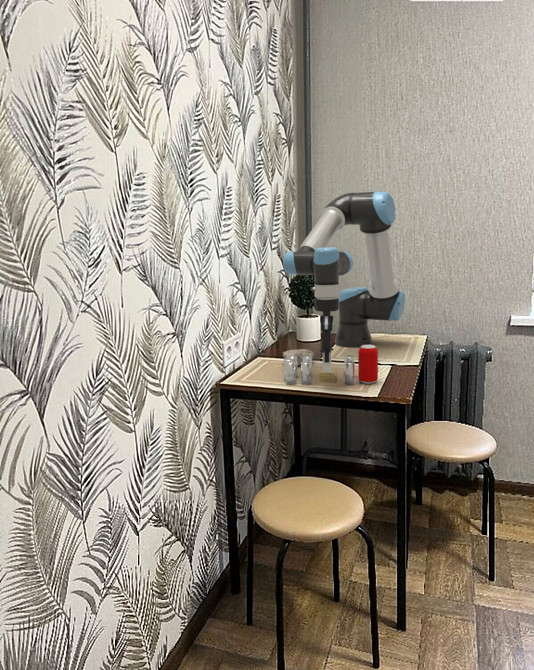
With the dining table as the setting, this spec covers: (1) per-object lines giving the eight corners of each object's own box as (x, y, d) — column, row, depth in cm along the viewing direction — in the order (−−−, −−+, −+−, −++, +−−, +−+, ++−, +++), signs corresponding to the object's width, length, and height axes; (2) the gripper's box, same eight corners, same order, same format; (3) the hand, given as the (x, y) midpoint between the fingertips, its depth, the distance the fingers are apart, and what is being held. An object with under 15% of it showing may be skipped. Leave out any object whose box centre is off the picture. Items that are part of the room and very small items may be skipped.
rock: (283, 368, 221) (282, 352, 220) (284, 360, 232) (284, 345, 231) (314, 368, 221) (313, 352, 219) (313, 360, 231) (313, 345, 230)
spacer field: (285, 375, 211) (285, 355, 210) (369, 375, 208) (369, 355, 206) (282, 384, 201) (282, 363, 199) (370, 385, 197) (370, 363, 196)
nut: (321, 378, 207) (321, 368, 206) (336, 378, 206) (336, 368, 205) (319, 382, 202) (319, 372, 202) (335, 383, 201) (335, 372, 201)
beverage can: (357, 379, 204) (357, 344, 201) (376, 379, 203) (376, 343, 201) (359, 384, 198) (359, 348, 195) (379, 384, 197) (379, 348, 195)
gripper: (315, 295, 198) (316, 366, 202) (313, 300, 185) (314, 376, 190) (338, 295, 197) (339, 366, 201) (338, 300, 184) (338, 377, 189)
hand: (327, 371), depth 196 cm, fingers closed
